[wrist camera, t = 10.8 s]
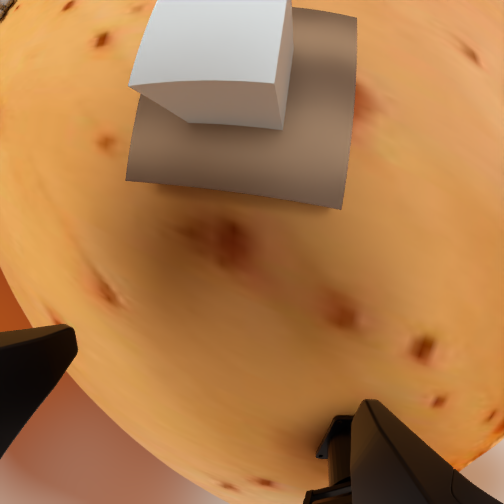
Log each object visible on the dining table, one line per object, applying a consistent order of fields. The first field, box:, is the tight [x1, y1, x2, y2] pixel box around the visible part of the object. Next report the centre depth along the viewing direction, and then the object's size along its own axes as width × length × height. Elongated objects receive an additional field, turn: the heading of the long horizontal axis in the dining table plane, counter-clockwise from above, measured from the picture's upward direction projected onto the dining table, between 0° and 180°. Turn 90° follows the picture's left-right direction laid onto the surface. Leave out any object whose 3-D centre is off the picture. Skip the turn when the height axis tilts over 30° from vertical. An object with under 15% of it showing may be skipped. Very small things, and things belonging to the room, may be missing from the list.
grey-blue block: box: [128, 0, 293, 130], centre depth 9 cm, size 5×5×6 cm
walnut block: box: [125, 7, 357, 210], centre depth 14 cm, size 12×12×4 cm
